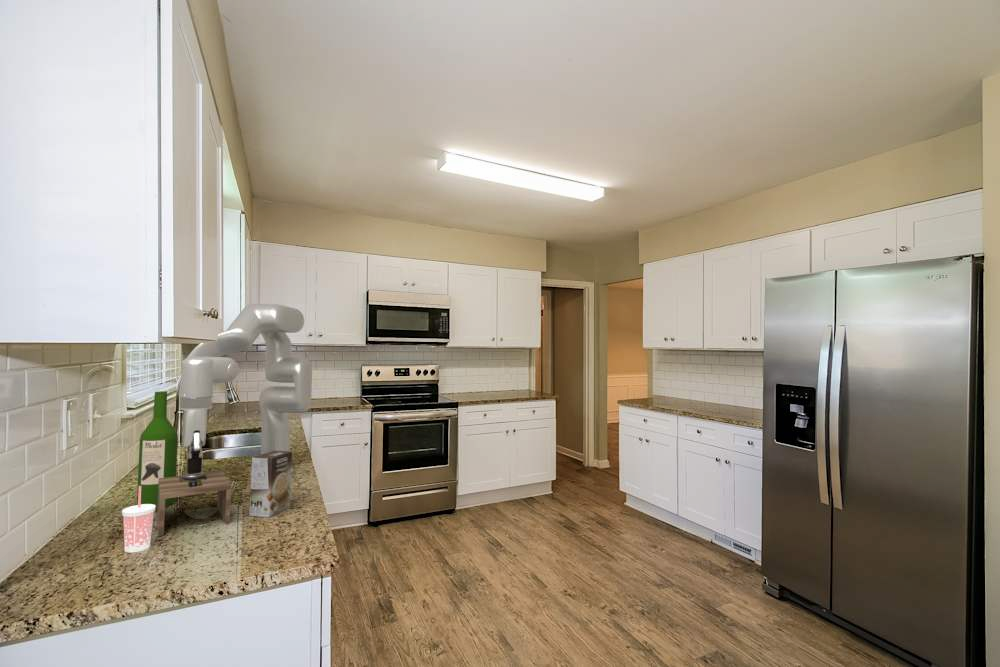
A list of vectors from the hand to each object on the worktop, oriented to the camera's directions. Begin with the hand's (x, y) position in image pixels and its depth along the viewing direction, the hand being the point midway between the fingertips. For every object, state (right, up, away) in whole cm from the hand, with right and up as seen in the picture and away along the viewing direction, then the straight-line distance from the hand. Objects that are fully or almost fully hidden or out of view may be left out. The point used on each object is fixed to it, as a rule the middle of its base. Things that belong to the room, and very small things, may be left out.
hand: (193, 470), depth 128 cm
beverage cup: (+1, -12, -21) cm, 24 cm away
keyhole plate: (+1, -12, -3) cm, 13 cm away
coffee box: (+19, -13, +4) cm, 23 cm away
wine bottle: (-16, -12, +8) cm, 22 cm away
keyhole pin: (0, -6, 0) cm, 6 cm away
